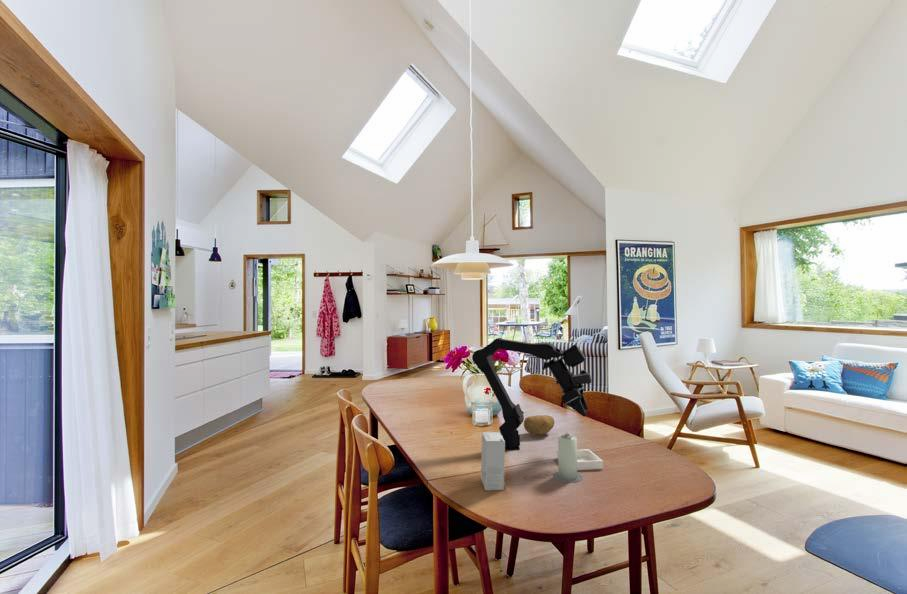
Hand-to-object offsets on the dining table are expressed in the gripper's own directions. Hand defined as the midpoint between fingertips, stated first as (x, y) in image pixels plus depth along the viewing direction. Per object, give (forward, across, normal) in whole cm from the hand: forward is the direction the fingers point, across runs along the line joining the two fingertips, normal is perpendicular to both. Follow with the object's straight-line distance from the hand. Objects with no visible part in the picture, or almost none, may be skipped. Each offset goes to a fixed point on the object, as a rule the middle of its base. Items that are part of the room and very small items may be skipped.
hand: (586, 412), depth 158 cm
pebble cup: (+10, -23, +11) cm, 27 cm away
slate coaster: (+11, -23, +12) cm, 28 cm away
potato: (+2, +20, +25) cm, 32 cm away
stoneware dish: (+12, -10, +10) cm, 18 cm away
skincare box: (0, -35, +29) cm, 46 cm away
